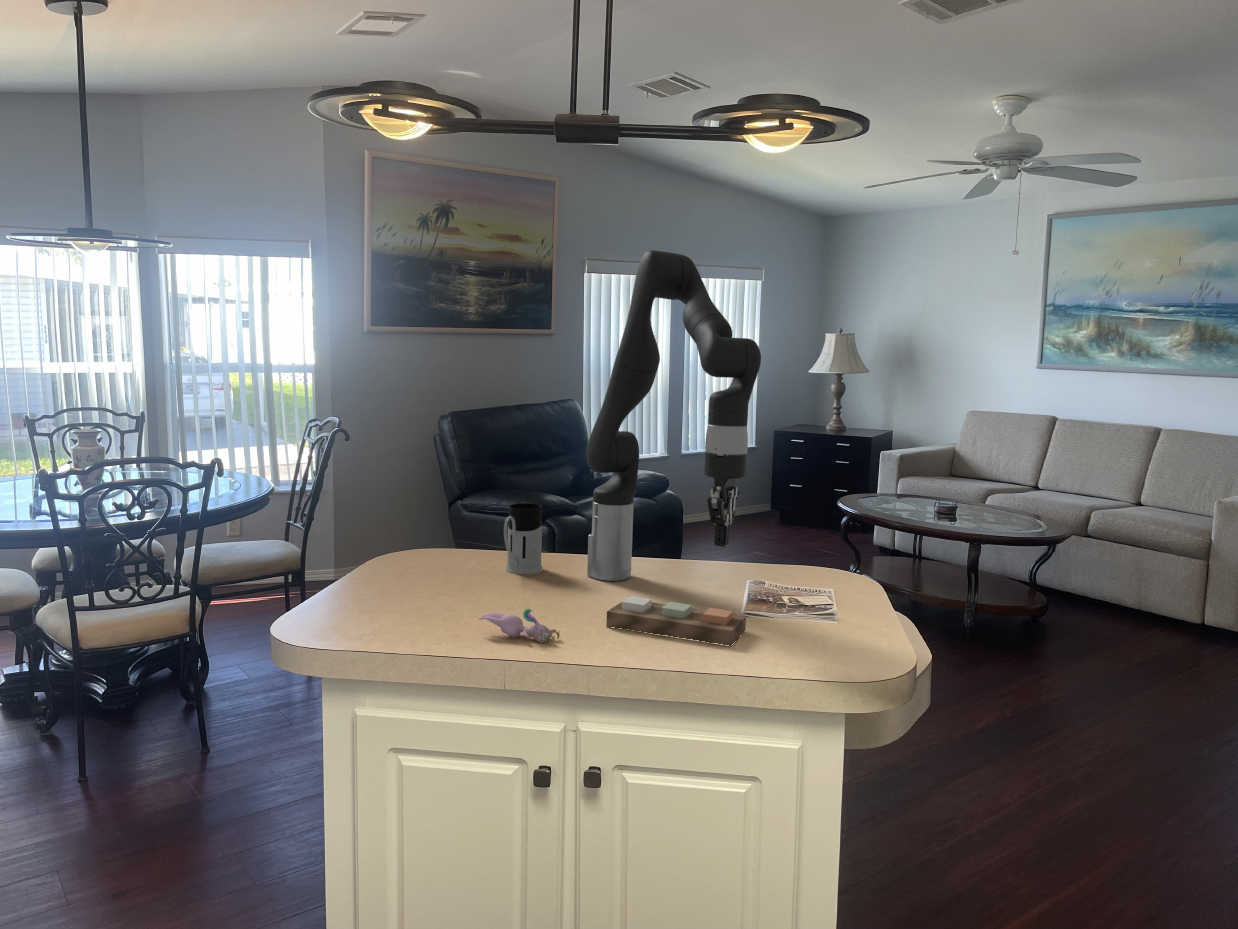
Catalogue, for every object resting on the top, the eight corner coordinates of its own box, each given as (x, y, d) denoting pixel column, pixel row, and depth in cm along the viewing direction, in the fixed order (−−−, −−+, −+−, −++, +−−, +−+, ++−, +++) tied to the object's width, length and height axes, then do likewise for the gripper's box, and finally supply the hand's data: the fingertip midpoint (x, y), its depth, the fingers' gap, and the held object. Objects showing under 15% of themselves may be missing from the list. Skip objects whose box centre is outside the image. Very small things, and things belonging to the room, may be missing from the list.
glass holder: (549, 567, 211) (550, 505, 209) (521, 581, 198) (523, 514, 196) (516, 563, 214) (517, 501, 212) (486, 576, 201) (487, 510, 199)
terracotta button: (702, 628, 163) (703, 613, 163) (709, 622, 167) (710, 607, 167) (725, 632, 162) (726, 617, 161) (732, 625, 166) (733, 611, 165)
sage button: (661, 622, 166) (661, 607, 166) (668, 616, 170) (669, 601, 170) (683, 625, 165) (684, 611, 164) (691, 619, 169) (691, 605, 168)
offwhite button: (621, 616, 169) (621, 601, 169) (629, 610, 173) (630, 596, 173) (642, 619, 168) (643, 605, 167) (651, 613, 172) (651, 599, 171)
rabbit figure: (560, 644, 161) (486, 621, 165) (567, 613, 160) (491, 591, 164) (548, 655, 155) (470, 631, 159) (554, 623, 154) (476, 599, 158)
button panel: (606, 627, 168) (606, 611, 167) (626, 613, 177) (626, 598, 176) (730, 647, 159) (731, 630, 158) (745, 631, 168) (746, 616, 167)
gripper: (716, 445, 168) (712, 536, 170) (694, 452, 156) (690, 550, 158) (755, 448, 165) (751, 540, 167) (736, 455, 153) (731, 555, 155)
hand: (721, 545), depth 163 cm, fingers closed
